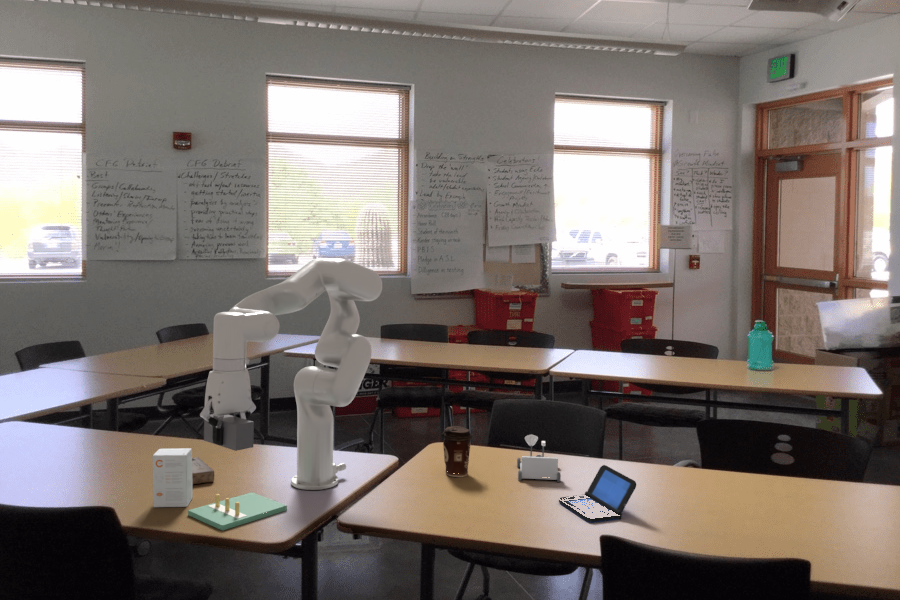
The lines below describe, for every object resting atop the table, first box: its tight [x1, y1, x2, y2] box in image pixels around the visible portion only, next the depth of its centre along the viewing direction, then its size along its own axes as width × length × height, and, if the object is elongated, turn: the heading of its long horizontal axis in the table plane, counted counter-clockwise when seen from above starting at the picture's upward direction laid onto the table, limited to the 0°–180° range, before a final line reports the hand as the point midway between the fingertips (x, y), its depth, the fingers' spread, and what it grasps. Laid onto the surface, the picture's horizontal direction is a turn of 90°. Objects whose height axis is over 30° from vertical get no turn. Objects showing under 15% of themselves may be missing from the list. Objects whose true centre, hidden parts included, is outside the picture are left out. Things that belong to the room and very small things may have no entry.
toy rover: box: [516, 433, 561, 484], centre depth 223 cm, size 18×10×12 cm
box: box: [192, 456, 215, 485], centre depth 212 cm, size 11×17×3 cm, turn 31°
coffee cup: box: [441, 425, 473, 478], centre depth 219 cm, size 9×8×13 cm
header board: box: [187, 491, 288, 532], centre depth 185 cm, size 18×14×4 cm
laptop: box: [558, 464, 637, 524], centre depth 193 cm, size 16×13×9 cm
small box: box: [152, 447, 194, 508], centre depth 190 cm, size 8×6×13 cm
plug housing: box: [203, 413, 255, 452], centre depth 182 cm, size 5×13×6 cm, turn 50°
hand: (228, 441), depth 182 cm, fingers closed on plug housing, 4 cm apart
